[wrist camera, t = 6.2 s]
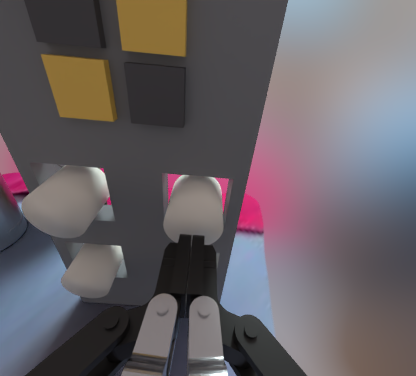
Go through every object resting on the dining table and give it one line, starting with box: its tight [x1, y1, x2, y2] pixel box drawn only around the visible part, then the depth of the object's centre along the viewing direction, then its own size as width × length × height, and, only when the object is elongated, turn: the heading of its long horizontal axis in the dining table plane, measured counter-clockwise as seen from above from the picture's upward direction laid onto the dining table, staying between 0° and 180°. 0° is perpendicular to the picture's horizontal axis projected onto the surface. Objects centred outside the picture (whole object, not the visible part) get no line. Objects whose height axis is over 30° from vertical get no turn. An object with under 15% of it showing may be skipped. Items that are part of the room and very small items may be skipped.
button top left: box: [22, 165, 110, 238], centre depth 15 cm, size 4×4×4 cm
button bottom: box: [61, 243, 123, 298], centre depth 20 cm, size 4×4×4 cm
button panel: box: [0, 0, 288, 308], centre depth 19 cm, size 9×16×30 cm, turn 89°
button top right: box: [163, 175, 224, 247], centre depth 15 cm, size 4×4×4 cm
